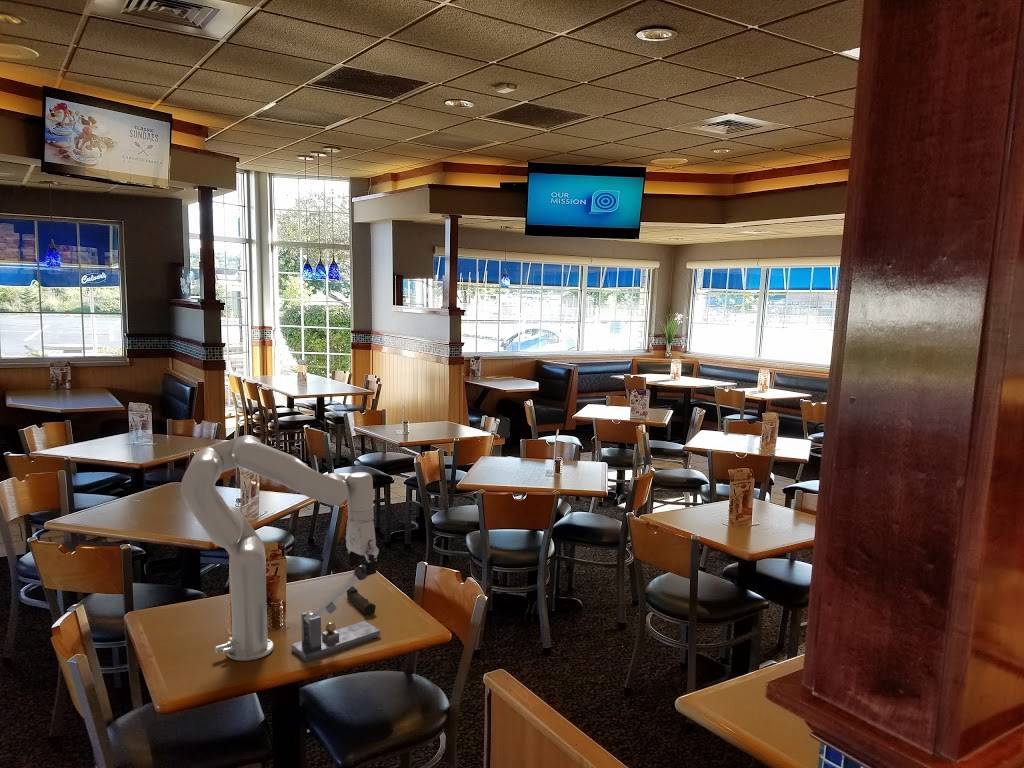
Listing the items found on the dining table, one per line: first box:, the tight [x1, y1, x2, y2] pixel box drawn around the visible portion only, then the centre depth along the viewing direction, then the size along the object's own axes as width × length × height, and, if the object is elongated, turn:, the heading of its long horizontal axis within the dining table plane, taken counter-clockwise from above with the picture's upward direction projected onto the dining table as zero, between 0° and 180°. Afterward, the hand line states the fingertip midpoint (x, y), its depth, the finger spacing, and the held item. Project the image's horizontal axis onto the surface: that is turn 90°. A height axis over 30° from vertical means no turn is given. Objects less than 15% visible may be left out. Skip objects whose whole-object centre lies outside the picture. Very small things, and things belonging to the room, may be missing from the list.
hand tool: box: [346, 585, 376, 617], centre depth 242 cm, size 19×4×5 cm, turn 32°
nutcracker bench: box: [291, 610, 381, 663], centre depth 214 cm, size 24×9×11 cm, turn 132°
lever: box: [304, 564, 369, 624], centre depth 214 cm, size 23×4×5 cm
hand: (362, 569), depth 219 cm, fingers open, 9 cm apart
